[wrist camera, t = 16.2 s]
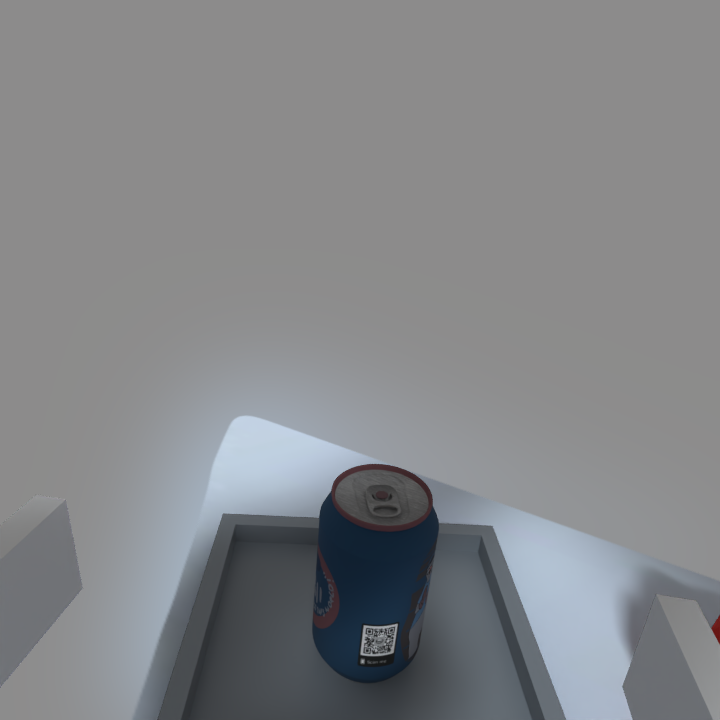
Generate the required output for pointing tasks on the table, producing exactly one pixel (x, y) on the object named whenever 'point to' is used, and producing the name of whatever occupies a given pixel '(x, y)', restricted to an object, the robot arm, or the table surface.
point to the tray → (309, 670)
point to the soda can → (373, 571)
